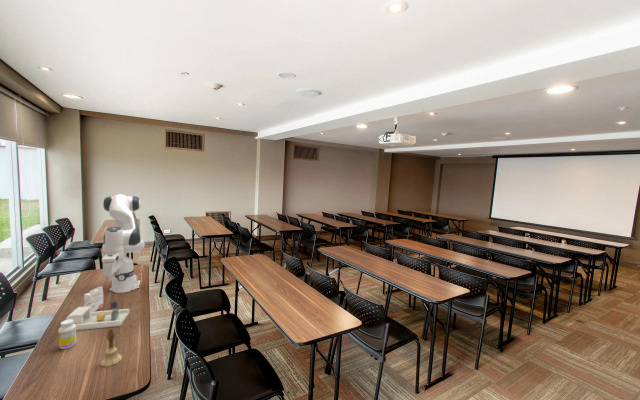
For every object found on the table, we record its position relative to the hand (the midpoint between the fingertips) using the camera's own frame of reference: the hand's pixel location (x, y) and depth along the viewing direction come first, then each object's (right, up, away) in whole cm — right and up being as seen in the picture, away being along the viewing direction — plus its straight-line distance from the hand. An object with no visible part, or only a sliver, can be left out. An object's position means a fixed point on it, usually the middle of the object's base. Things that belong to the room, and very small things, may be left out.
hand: (114, 277), depth 162 cm
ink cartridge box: (-23, -25, +13) cm, 36 cm away
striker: (-1, -25, +2) cm, 25 cm away
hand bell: (+22, -31, -32) cm, 50 cm away
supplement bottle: (-7, -29, -23) cm, 37 cm away
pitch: (-9, -26, 0) cm, 28 cm away
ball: (-8, -23, 0) cm, 25 cm away
